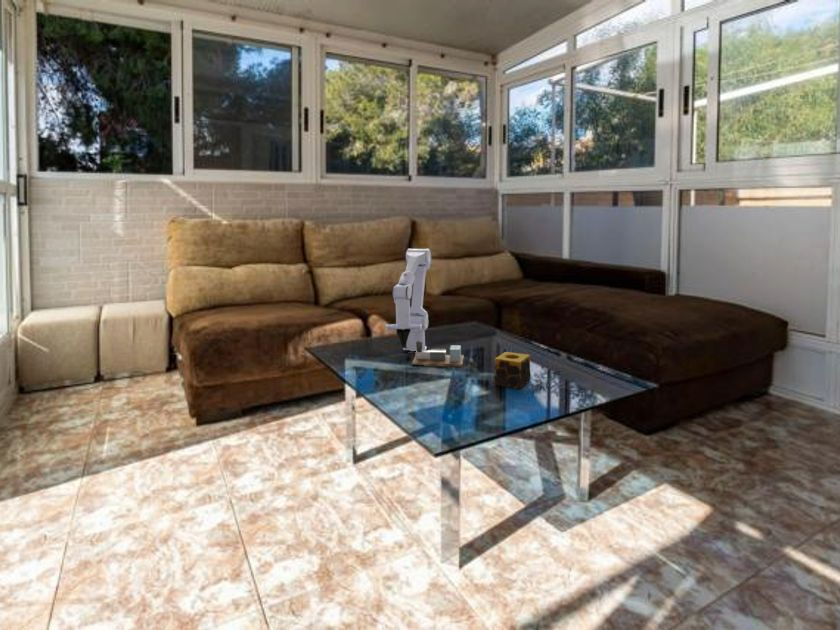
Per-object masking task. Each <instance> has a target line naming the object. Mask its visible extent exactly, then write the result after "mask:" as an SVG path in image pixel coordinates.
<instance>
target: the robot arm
mask: <svg viewBox="0 0 840 630" xmlns="http://www.w3.org/2000/svg"><path fill="white" fill-rule="evenodd" d="M405 261H406V263H407V264H406V268H405V271H403V272H402V273H401V275H400V277H399V280H398V283H397V284H396V285H394V286H393V288H392V297H393V303H394V304H395V323H390V324H388V323H386V324H385V327H384V328H385V331H389V330H391V331H392V330H393V331H395V330H396V335H397V337H398V338H399V341H400V343H401V347H402V349H403V350H410V351H416V350H417V349H416V341H422V350H427V348H428V347H427V345H426V337H425V335H426V333H425V331H426V330H427V329H428V327H429V313H428V311H426V310H425V308H423V307H424V294H425V287H426V286H425V284H426V275H427V271H428V270H430V268H431V262H432V253H431V250H430V248H407V250H406V252H405ZM410 300H411V301H410ZM410 302H411V303H410ZM406 347H407V348H406ZM403 350H402V351H403Z"/></svg>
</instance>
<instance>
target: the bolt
mask: <svg viewBox="0 0 840 630" xmlns="http://www.w3.org/2000/svg"><path fill="white" fill-rule="evenodd" d="M416 349H417V350H416V352H415V355H416V359H430V352H445V359H446V355H447V349H446V350H431V349H428V350H427V349H426V350H422V341H416Z"/></svg>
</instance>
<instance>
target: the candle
mask: <svg viewBox="0 0 840 630" xmlns="http://www.w3.org/2000/svg"><path fill="white" fill-rule="evenodd" d="M494 364H495V365H494V366H495V367H494V377H493V379H494V380H493V381H494V383H493V384H494V385H495V386H499V387H504V388H511V387H513V388H512V389H516V388H517V389H516V390H522V389H523V388H524V387H526V385H527V384H528V383H529V381H530V382H531V355H530V354H526V353H518V352H509V351H505V352H502V353H501V354H500V355H498V356H497V357H495V358H494ZM527 382H528V383H527Z"/></svg>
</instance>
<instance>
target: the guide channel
mask: <svg viewBox="0 0 840 630" xmlns="http://www.w3.org/2000/svg"><path fill="white" fill-rule="evenodd" d="M430 350H446V351H447V349H446V348H431V349H430ZM430 361H445V352H430Z"/></svg>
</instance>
